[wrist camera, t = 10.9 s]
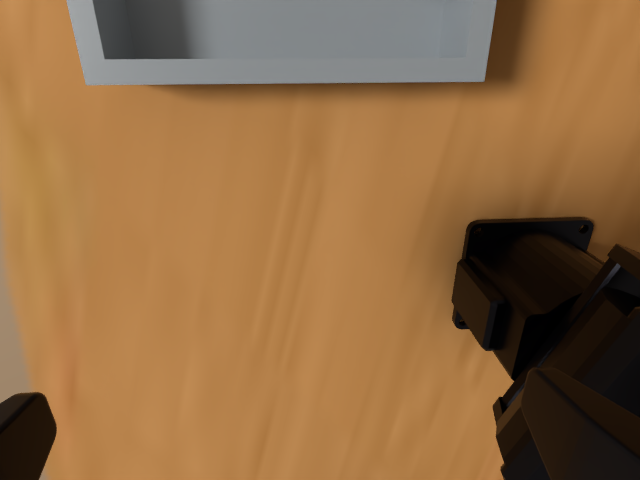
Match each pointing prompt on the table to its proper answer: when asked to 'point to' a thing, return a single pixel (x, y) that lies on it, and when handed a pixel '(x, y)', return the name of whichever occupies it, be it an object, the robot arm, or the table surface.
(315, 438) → the table surface
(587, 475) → the robot arm
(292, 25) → the tray
